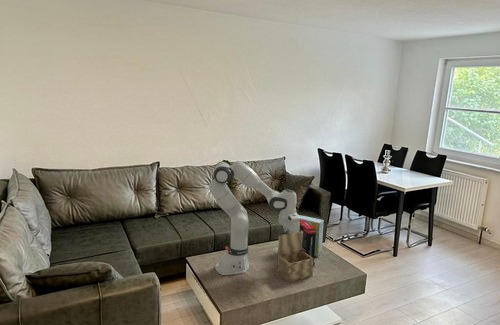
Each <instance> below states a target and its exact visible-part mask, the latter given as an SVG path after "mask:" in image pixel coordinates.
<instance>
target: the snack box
mask: <svg viewBox="0 0 500 325" xmlns="http://www.w3.org/2000/svg"><path fill="white" fill-rule="evenodd" d="M298 215H299V217H300V220H305V221H306V222H308V223H309V224H310V225H311V226H313V227H314V228H315V229H316V239H315V256H314V257H316V258H318V257H319V256H320V255H321V254H322V253H323V252H322V251H323V238H324V235H323V234H324V222H325V221H324V219H320V218H316V217H315V218H314V217H310V216H306V215H300V214H298Z"/></svg>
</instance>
